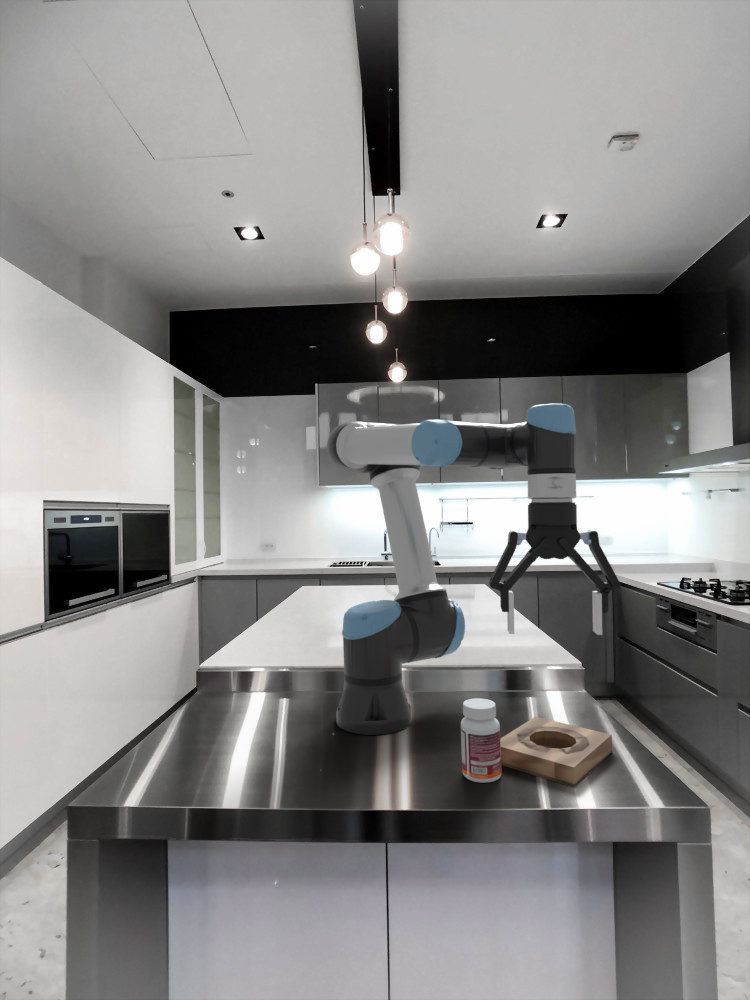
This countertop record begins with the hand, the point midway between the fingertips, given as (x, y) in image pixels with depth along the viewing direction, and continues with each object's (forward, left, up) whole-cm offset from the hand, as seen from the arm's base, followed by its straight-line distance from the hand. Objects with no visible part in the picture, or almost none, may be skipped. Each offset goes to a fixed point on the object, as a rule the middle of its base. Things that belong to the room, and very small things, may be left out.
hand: (553, 632), depth 93 cm
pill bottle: (-9, -9, -22) cm, 25 cm away
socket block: (-3, +4, -22) cm, 22 cm away
